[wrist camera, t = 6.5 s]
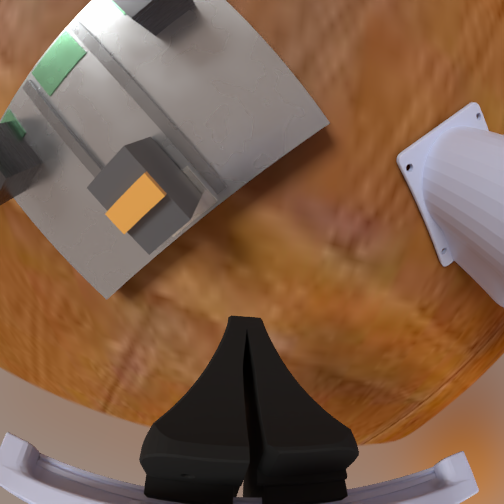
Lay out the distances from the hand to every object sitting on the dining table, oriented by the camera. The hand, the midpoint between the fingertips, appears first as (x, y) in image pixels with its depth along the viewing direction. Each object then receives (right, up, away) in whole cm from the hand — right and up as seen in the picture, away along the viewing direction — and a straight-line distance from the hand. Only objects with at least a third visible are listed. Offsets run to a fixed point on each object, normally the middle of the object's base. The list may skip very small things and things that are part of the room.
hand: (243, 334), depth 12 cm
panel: (-7, +11, +2) cm, 13 cm away
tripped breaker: (-4, +7, +2) cm, 8 cm away
